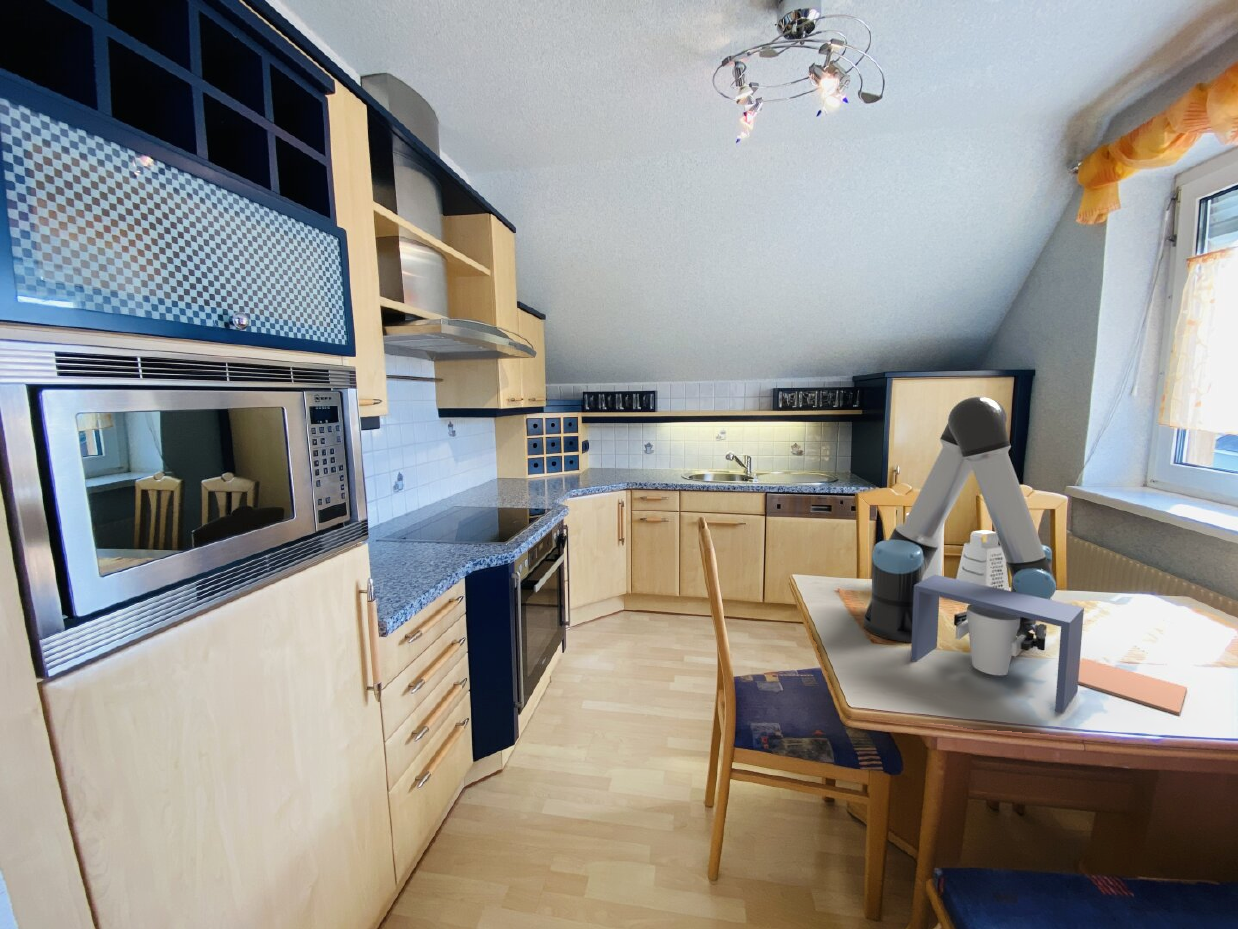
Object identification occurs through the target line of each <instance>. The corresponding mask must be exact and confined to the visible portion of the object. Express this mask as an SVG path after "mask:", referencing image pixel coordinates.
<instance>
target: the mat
mask: <svg viewBox="0 0 1238 929" xmlns="http://www.w3.org/2000/svg"><path fill="white" fill-rule="evenodd" d="M1078 685H1081V686H1084V687H1086V688H1091V689H1093V690H1097V691H1100V692H1102V693H1107V694H1109V695H1114V696H1117V697H1119V698H1121V699H1125V700H1129V701H1131V702H1134V703H1135V702H1136V703H1139V704H1142V705H1145V706H1148V707H1151V708H1154V709H1158V710H1161V711H1164V712H1168V713H1169V714H1173V715H1177V716H1180V714H1181V710H1182V707H1183V704H1184V700H1185V696H1186V694H1187V691H1188V690H1187V689H1188V687H1187V686H1185V685H1181V684H1177V683H1173V682H1171V681H1166V680H1162V679H1159V678H1155V677H1152V676H1148V675H1144V674H1143V673H1142V674H1141V673H1138V672H1134V671H1131V670H1128V669H1123V668H1119V667H1117V666H1113V665H1110V664H1109V665H1108V664H1105V663H1101V662H1099V661H1094V660H1091V659H1087V658H1084V657H1083V658H1082V659H1080V666H1079V679H1078Z"/></svg>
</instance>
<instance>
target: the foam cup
mask: <svg viewBox="0 0 1238 929" xmlns="http://www.w3.org/2000/svg"><path fill="white" fill-rule="evenodd" d="M966 611H967V616H966V618H967V619H968V628H969V633H968V635H969V645H970V654H971V657H970V658H971V664H972V666H973V667H974V669H976V670H978V671H980V672H982V673H985V674H989V675H991V676H992V675H993V676H1005V675H1008V672H1009V669H1010V664H1011V660H1012V657H1013V656H1012V655H1011V652H1012V643H1013V642H1014V641H1015V640H1016V639H1017V636H1016V635H1017V631H1018V629H1019V627H1020V616H1016V615H1012V614H1008V613H1003V612H999V611H995V610H991V609H987V608H983V607H979V606H975V605H971V604H968V605H967V606H966Z"/></svg>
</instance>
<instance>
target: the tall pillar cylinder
mask: <svg viewBox="0 0 1238 929" xmlns="http://www.w3.org/2000/svg"><path fill="white" fill-rule="evenodd" d="M908 514H909V512H908V513H907V512H906V513H905V519H906V518H907V516H908ZM944 536H945V523H944V524H943V526H942V528H941V530H940V531H939V533H938V535H937V537H936V538H937V541H938V543H939V547H938V549H937V551H936V552H935V554H934V556H933V558H932V560H931V562H930V565H929V567H928V568H927V570H926V571H925V573H924V575H923V577H922V581H923V580H925V579H927V578H929V577H931V576H933V575H939V576H943V559H944V558H943V557H944V540H945V539H944V538H945V537H944Z"/></svg>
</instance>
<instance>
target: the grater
mask: <svg viewBox="0 0 1238 929" xmlns="http://www.w3.org/2000/svg"><path fill="white" fill-rule="evenodd" d="M984 535H986V541H983V539H982V538H983V536H984ZM1007 568H1008V566H1007V562H1006V559H1005V557H1004V554H1003V551H1002V548H1001V546H1000V544H999V540H998V537H997V535H996V532H995V531H992V530H987V529H982V530H974V531H971V533H970V536H969V542H964V544H963V547H962V552H961V556H960V561H959V565H958V569H957V573H956V574H957V575H956V578H955V579H957V580H962V581H966V582H971V583H976V584H980V585H985V586H989V587H994V588H998V589H1003V590H1008V591H1010V586H1009V576H1008V569H1007Z"/></svg>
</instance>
